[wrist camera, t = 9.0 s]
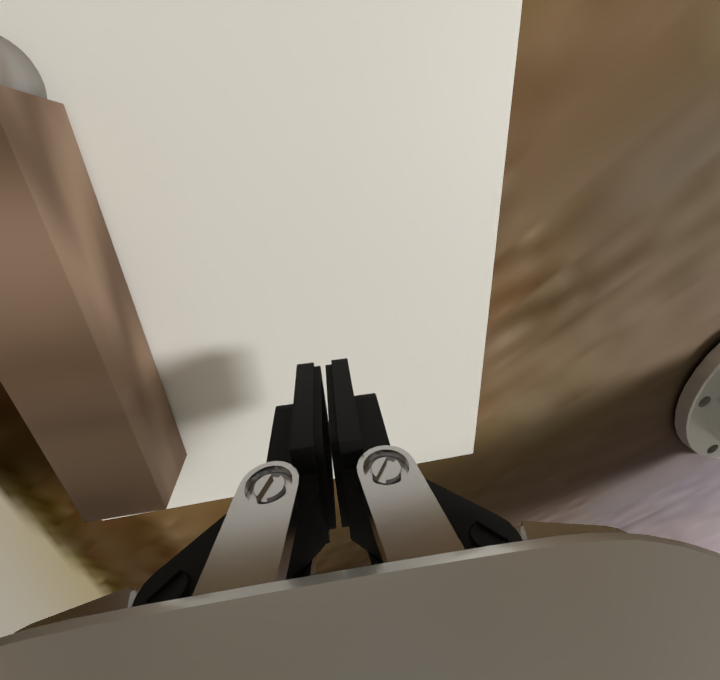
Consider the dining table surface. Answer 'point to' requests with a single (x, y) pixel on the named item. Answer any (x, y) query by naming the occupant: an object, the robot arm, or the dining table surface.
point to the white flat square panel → (293, 200)
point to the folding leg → (73, 317)
